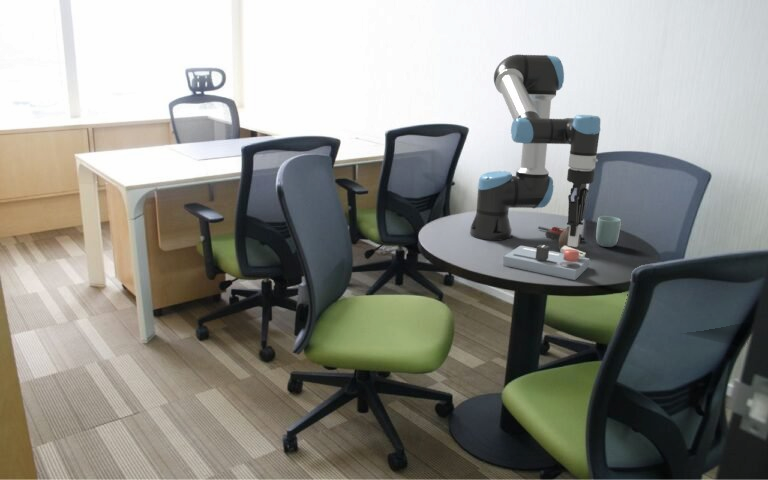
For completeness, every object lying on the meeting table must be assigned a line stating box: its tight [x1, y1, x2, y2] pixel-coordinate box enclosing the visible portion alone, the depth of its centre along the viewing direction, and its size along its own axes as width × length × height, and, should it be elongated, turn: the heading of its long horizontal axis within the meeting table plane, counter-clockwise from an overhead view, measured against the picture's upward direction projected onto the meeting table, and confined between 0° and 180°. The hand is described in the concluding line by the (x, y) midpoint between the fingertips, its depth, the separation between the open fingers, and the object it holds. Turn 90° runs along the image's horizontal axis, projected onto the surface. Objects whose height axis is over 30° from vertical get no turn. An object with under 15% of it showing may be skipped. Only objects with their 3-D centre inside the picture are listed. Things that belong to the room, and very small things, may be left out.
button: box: [563, 249, 580, 262], centre depth 194 cm, size 4×4×3 cm
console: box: [502, 245, 590, 281], centre depth 203 cm, size 23×15×4 cm, turn 58°
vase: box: [558, 225, 581, 250], centre depth 218 cm, size 7×7×9 cm
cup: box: [595, 215, 622, 248], centre depth 227 cm, size 8×8×10 cm
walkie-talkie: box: [537, 225, 585, 242], centre depth 237 cm, size 9×4×20 cm
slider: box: [536, 244, 550, 261], centre depth 199 cm, size 3×3×4 cm
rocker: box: [559, 246, 587, 259], centre depth 202 cm, size 7×4×1 cm, turn 58°
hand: (572, 245), depth 193 cm, fingers closed
